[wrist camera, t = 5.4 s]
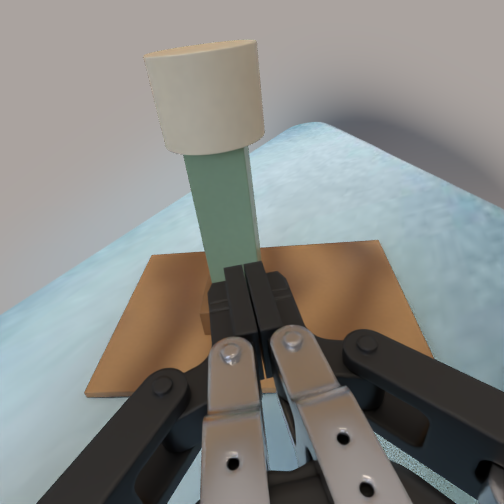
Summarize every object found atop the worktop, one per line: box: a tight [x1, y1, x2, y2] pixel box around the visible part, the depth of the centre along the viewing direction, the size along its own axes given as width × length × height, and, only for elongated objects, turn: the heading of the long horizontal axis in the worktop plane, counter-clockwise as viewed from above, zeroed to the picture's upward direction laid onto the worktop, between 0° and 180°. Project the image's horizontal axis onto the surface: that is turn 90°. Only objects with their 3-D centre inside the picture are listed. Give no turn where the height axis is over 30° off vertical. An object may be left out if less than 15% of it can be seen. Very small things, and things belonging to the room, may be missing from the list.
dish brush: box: [143, 40, 278, 335], centre depth 20 cm, size 5×5×16 cm
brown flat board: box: [84, 240, 434, 397], centre depth 25 cm, size 20×14×1 cm
